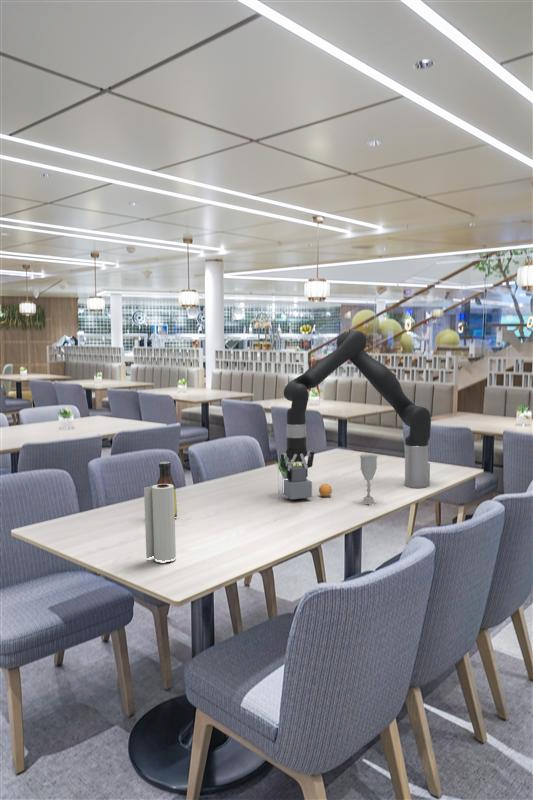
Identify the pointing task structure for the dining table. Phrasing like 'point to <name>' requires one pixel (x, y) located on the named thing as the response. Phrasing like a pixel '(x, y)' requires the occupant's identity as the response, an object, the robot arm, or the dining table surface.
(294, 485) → the grey stepped block
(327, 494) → the ball
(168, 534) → the paper towel roll
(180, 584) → the dining table surface
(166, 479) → the sauce bottle
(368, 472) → the chalice
